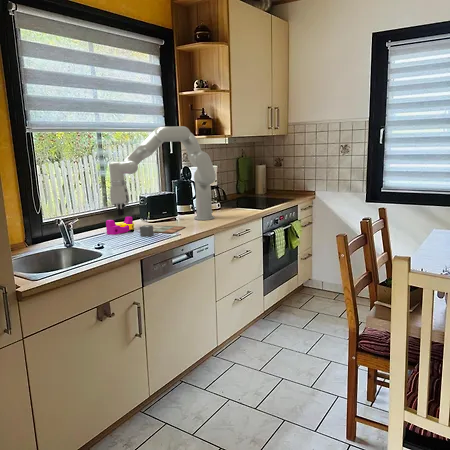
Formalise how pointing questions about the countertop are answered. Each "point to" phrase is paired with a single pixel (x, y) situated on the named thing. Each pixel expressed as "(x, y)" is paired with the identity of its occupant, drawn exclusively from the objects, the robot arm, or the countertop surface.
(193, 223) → the countertop surface
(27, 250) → the countertop surface
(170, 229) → the striped panel
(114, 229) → the toy block
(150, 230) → the die
